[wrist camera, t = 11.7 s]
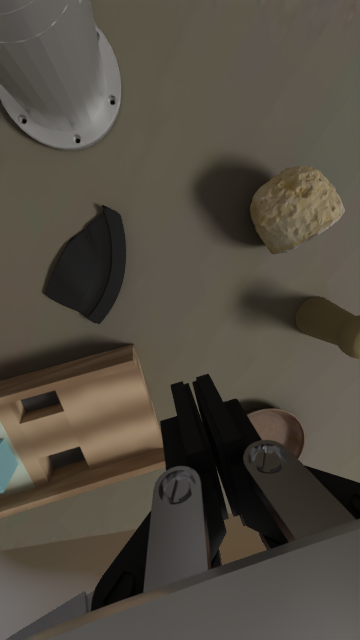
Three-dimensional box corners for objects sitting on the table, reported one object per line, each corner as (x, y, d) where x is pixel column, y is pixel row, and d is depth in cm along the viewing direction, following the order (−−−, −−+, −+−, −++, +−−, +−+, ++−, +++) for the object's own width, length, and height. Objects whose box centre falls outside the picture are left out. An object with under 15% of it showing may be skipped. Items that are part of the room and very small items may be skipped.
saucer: (312, 415, 48) (322, 425, 45) (270, 481, 51) (277, 494, 48) (241, 387, 44) (247, 396, 41) (199, 460, 47) (202, 473, 44)
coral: (290, 286, 33) (273, 213, 26) (250, 248, 40) (229, 184, 33) (365, 244, 32) (368, 156, 25) (310, 213, 39) (301, 139, 32)
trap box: (-56, 396, 37) (-88, 422, 32) (133, 343, 39) (132, 360, 34) (-1, 489, 43) (-21, 524, 37) (163, 439, 44) (167, 466, 39)
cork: (316, 288, 41) (377, 306, 30) (340, 313, 43) (405, 338, 32) (287, 319, 42) (337, 347, 31) (311, 342, 43) (367, 376, 33)
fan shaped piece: (152, 234, 36) (153, 234, 34) (102, 322, 38) (101, 326, 37) (92, 196, 33) (90, 194, 32) (43, 292, 36) (39, 295, 34)
